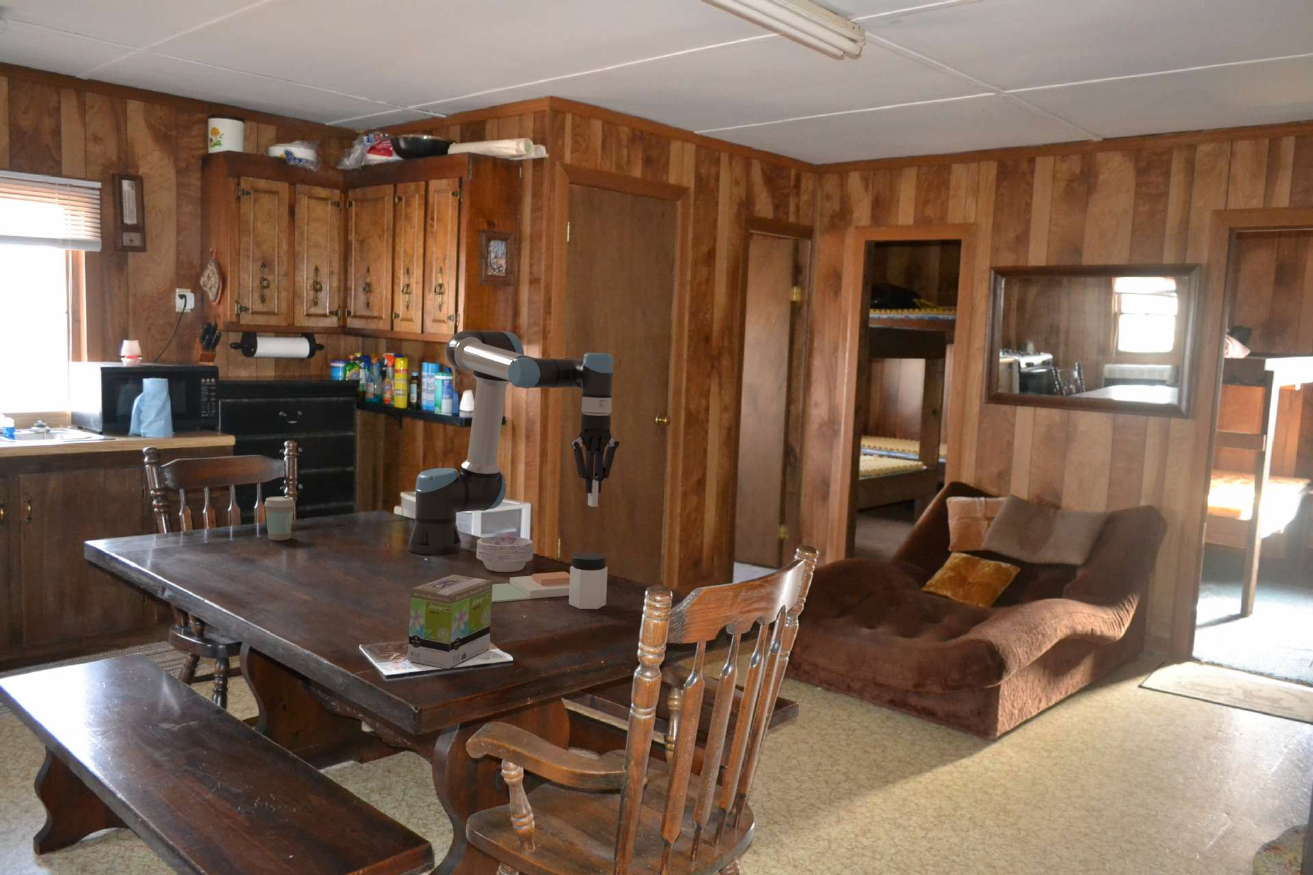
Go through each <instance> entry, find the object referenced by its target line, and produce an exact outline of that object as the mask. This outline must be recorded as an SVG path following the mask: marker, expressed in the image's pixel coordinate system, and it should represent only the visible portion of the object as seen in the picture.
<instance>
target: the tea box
mask: <svg viewBox="0 0 1313 875" xmlns="http://www.w3.org/2000/svg"><path fill="white" fill-rule="evenodd" d="M492 584H493V580H491V579H490V580H489V579H484V578H476V577H471V576H466V575H465V576H464V575H458V574H450V575H448V576H444V577H442V578H439V579H436V580H433V581H430V582H426V583H424V584H420V585H418V586H415V587H411V590H410V604H409V605H410V607H409V623H408V624H409V627H408V644H407V645H408V646H407V661H409V662H412V663H416V664H420V665H426V666H431V667H434V668H440V669H448V670H449V669H451V668H452V667H455V666H457V665H459V664H460V663H462V662H465V661H467V660H468V659H471V658H474V657H476V656H478V655H480V654H482V653H484V651H485V650H487V649H488V650H490V645H491V644H490V642H491V627H492V626H491V625H492V623H491V622H492V608H493V607H492V606H493V603H492ZM488 650H487V651H488ZM485 652H486V651H485ZM477 654H478V655H477Z"/></svg>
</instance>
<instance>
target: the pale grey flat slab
mask: <svg viewBox="0 0 1313 875" xmlns="http://www.w3.org/2000/svg"><path fill="white" fill-rule="evenodd" d="M509 584H510V585H511V586H513V587H514V588H516V589H517V590H519V591H520V592H522V593H523V594H525V595H526V596H528V597H529V598H530V599H529V600H533V599H542V598H552V597H553V598H554V597H565V596H568V597H569V585H570V583H566V584H553V585H540V584H538V583H536V582H535V581H533V580H532V575H527V576H525V575H524V576H514V577H509Z"/></svg>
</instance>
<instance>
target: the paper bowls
mask: <svg viewBox="0 0 1313 875" xmlns="http://www.w3.org/2000/svg"><path fill="white" fill-rule="evenodd" d="M533 557H534V541H533V540H531V539H529V538H525V537H521V536H519V537H518V536H508V535H507V536H506V535H501V536H500V535H497V536H495V535H494V536H486V537H485V536H484V537H481V538H479V539H477V541H476V559H477V560H480V561H482V563H483V565H484V567H485V568H486V569H487V570H488V571H491V572H495V573H496V572H497V573H515V572H519V571H522V570H523V569H524V567H525V565H526V563H527V562H531V561H532V560H533Z"/></svg>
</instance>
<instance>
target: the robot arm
mask: <svg viewBox="0 0 1313 875" xmlns="http://www.w3.org/2000/svg"><path fill="white" fill-rule="evenodd" d="M445 353H446V354H445V355H446V356H445V357H446V359H447V361H448V363H449V364H450V365H451V366H452V367H454V368H455V369H457V370H460V371H464V372H466V373H467V372H470V373H471V372H472V376H473V378H474V379H475V380H476V389H475V395H474V396H475V397H474V403H473V412H472V418H471V419H472V420H471V428H470V437H469V443H468V450H467V458H466V460H464V461H463V462H462V463H461V466H460V471H459V472H458V470H457V469H456V468H452V467H442V468H441V467H438V468H437V467H436V468H432V469H431V468H430V469H427V470H423V471H421V472H420V473H419V474H418V475H417V476H416V481H415V518H414V521H415V522H414V525H413V528H412V531H411V534H410V537H409V539H408V546H407V548H408V551H409V552H411V553H414V554H420V555H427V556H429V555H430V556H431V555H432V556H433V555H434V556H435V555H437V556H440V555H451V554H456V553H458V552H461V551H462V539H461V537H460V533H459V529H458V526H457V513H464V512H475V511H476V512H477V511H479V512H480V511H481V512H484V511H485V512H486V511H488V510H494V509H496V508H497V507H499V506H500V505H501V504H502V503H503V502H504V499H505V496H506V494H507V482H506V477H505V475H504V473H503V472H502V471H501V467H500V466H499V464H498V463H497V461H498V460H497V459H498V453H499V447H500V446H499V445H500V438H501V431H502V423H503V415H504V408H505V402H506V392H507V387H508V385H509V384H511V385H512V386H513V387H515V388H522V389H532V388H533V389H536V388H537V389H540V388H541V389H543V388H544V389H546V388H547V389H581V390H582V393H581V394H582V395H581V412H582V414H581V416H580V417H581V418H580V420H581V421H580V433H579V435H578V438H576V439H575V440H571V441H570V446H571V447H572V449H573V453H574V456H575V463H576V467H577V473H578V477H579V478H581V479H584V480H585V493H586V494H587V506H589V507H592V508H593V507H594V508H595V507H598V505H599V504H598V503H599V502H598V501H599V494H601V492H602V482H604V479H608V478H609V476H610V473H611V469H612V466H613V461H614V459H615V458H614V457H615V454H616V450H617V449H618V447H619V446H620V441H617V440H615V439H614V438H612V434H611V424H612V422H611V421H612V420H611V419H612V416H611V415H610V414H611V413H612V395H613V379H614V378H613V375H614V362H613V361H614V358H613V355H612V354H611V353H600V352H586V353H584V354H583V359H579V358H578V359H577V358H570V357H569V358H568V357H567V358H543V357H540V358H539V357H533V356H529V355H527V354H525V351H524V347H523V344H522V341H521V340H520V339H519V337H518V336H517V335H516V334H515V333H513V332H508V331H502V330H474V329H467V330H462V331H459V332H457V333H455V334H453V335H452V337H450V338H449V340H448V342H447V344H446V346H445ZM582 444H583V445H582ZM583 446H584V449H585V450H584V452H585V458H584V453H583V449H582V447H583ZM606 447H607V448H606ZM605 448H606V452H605ZM604 455H605V456H604Z"/></svg>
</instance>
